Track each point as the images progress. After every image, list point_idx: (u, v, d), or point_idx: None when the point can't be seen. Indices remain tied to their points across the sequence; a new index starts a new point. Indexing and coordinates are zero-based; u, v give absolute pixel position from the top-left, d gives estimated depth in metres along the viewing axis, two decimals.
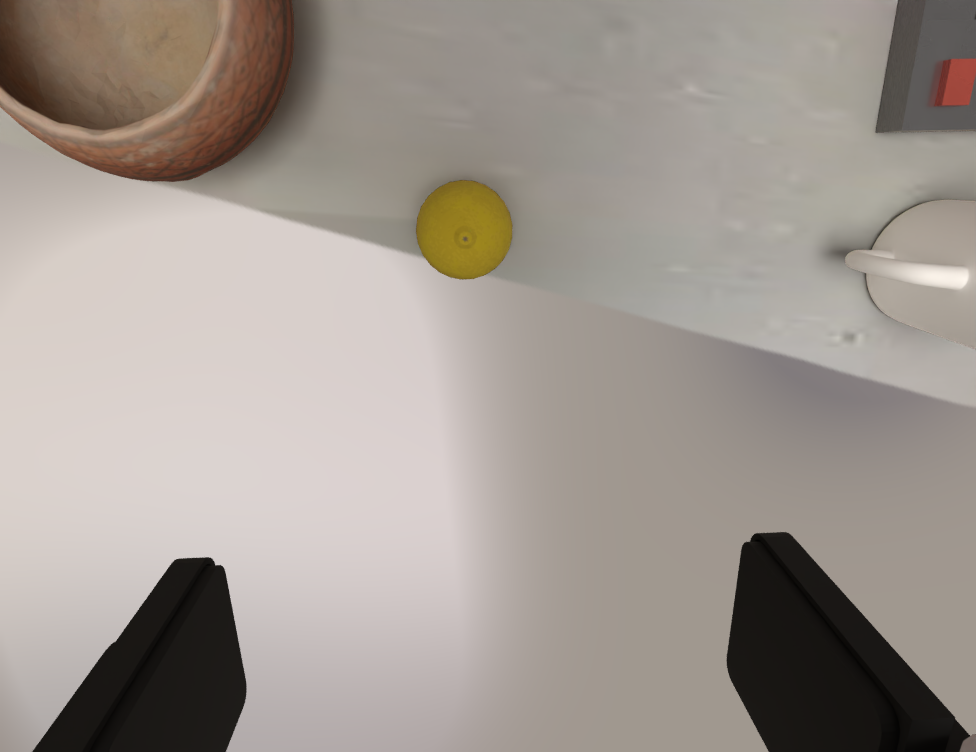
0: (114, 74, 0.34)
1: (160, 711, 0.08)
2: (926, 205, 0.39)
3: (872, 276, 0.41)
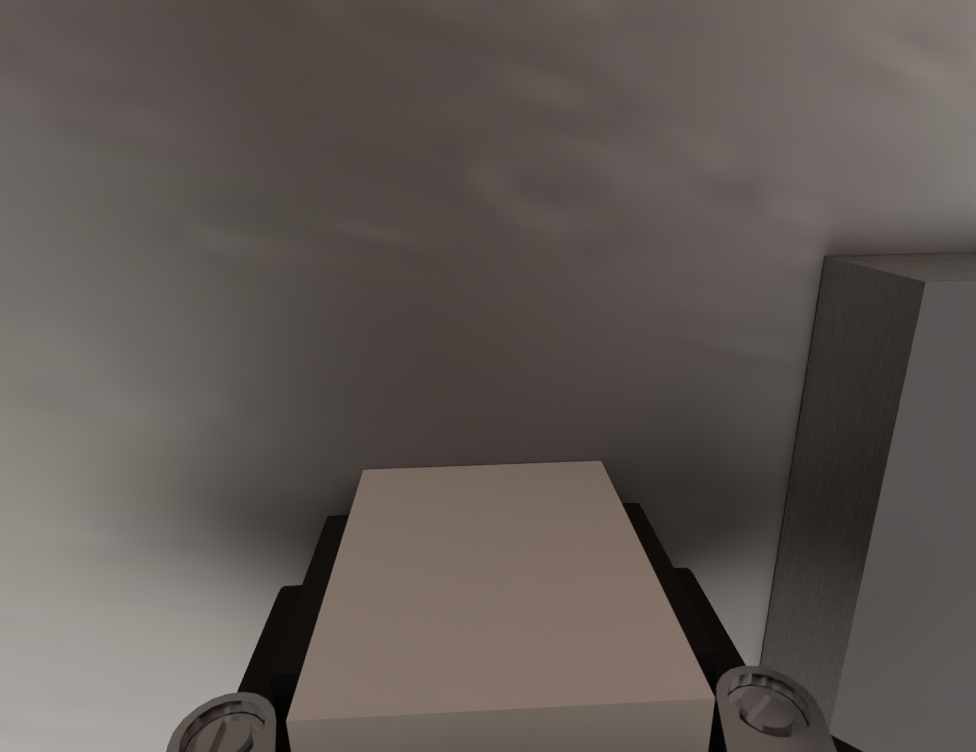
0: None
1: None
2: None
3: None
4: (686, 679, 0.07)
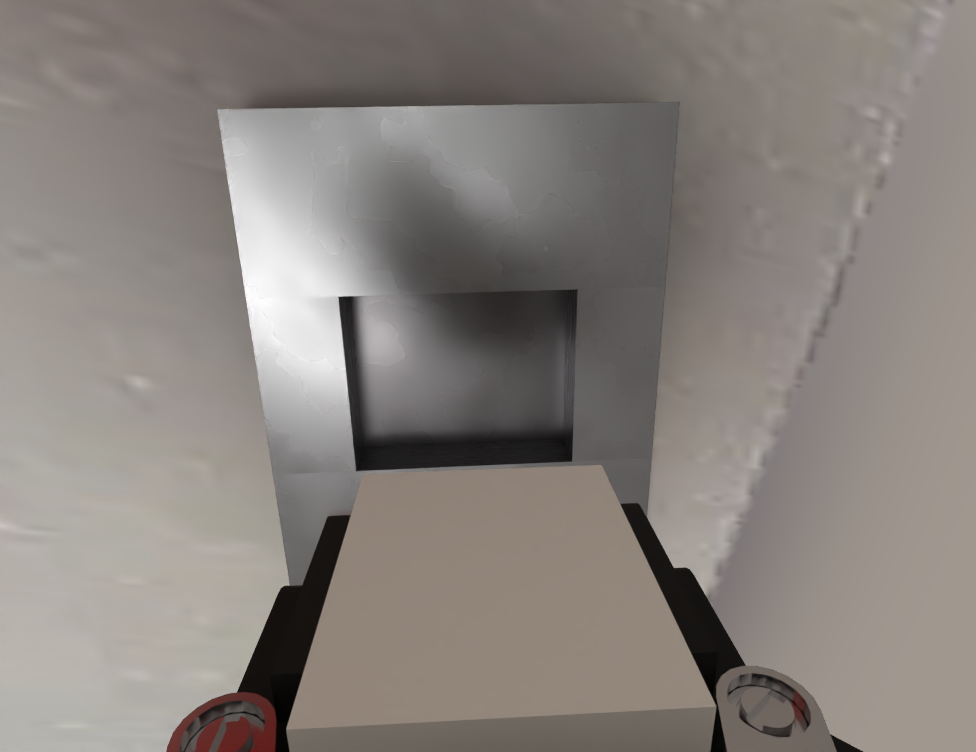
0: None
1: None
2: None
3: None
4: (687, 687, 0.07)
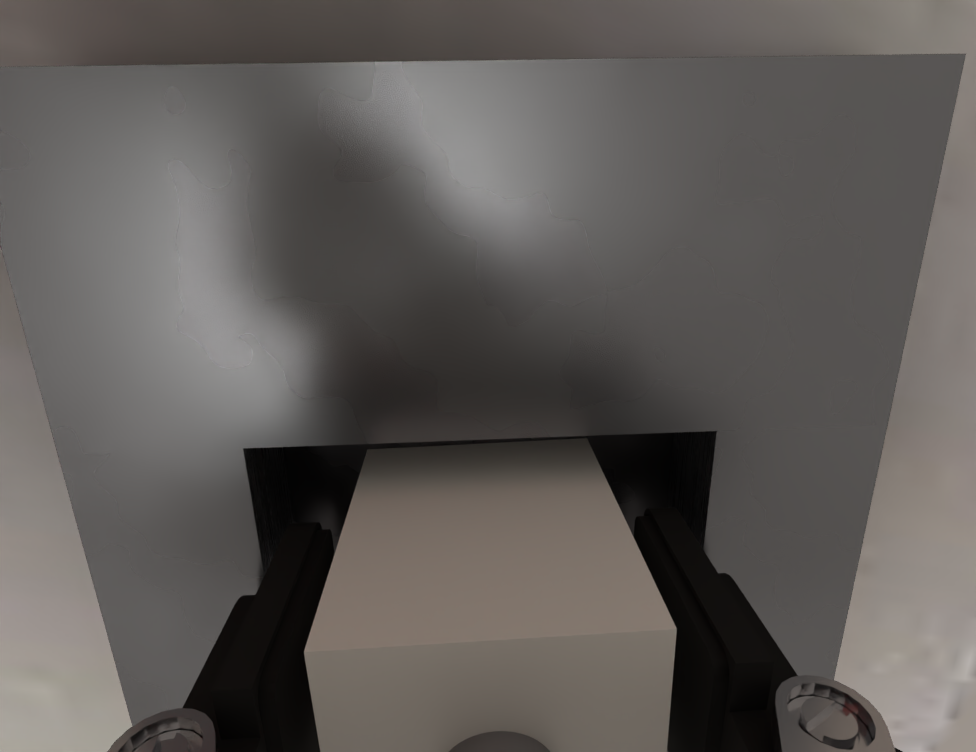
0: None
1: (301, 651, 0.09)
2: None
3: None
4: (653, 615, 0.08)
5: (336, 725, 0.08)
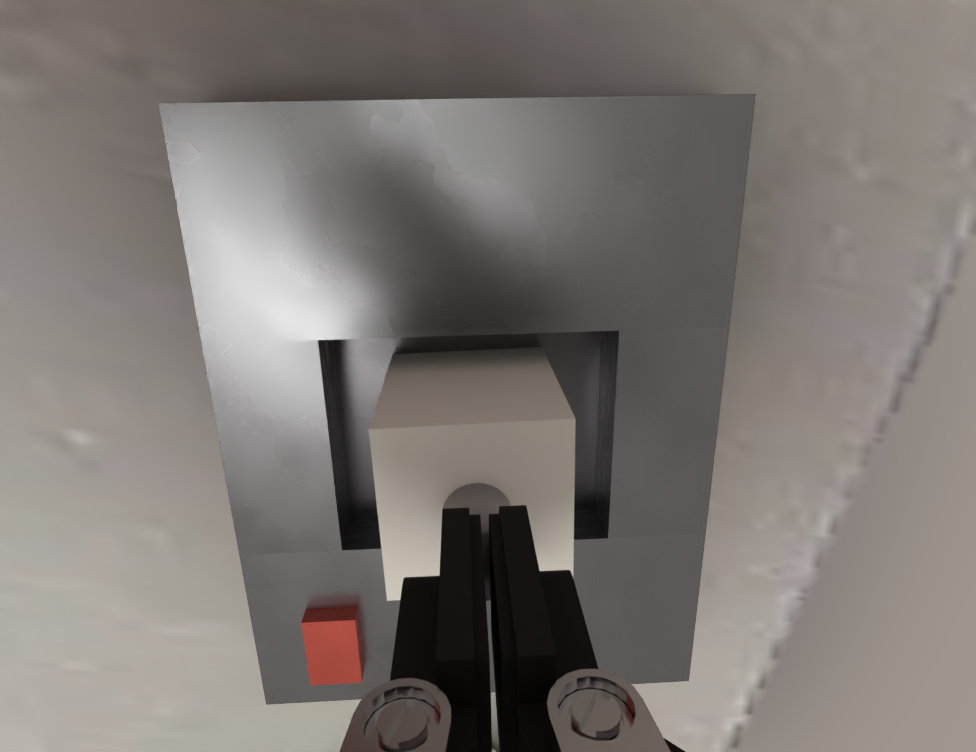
0: None
1: None
2: None
3: None
4: (564, 415, 0.14)
5: (385, 477, 0.14)
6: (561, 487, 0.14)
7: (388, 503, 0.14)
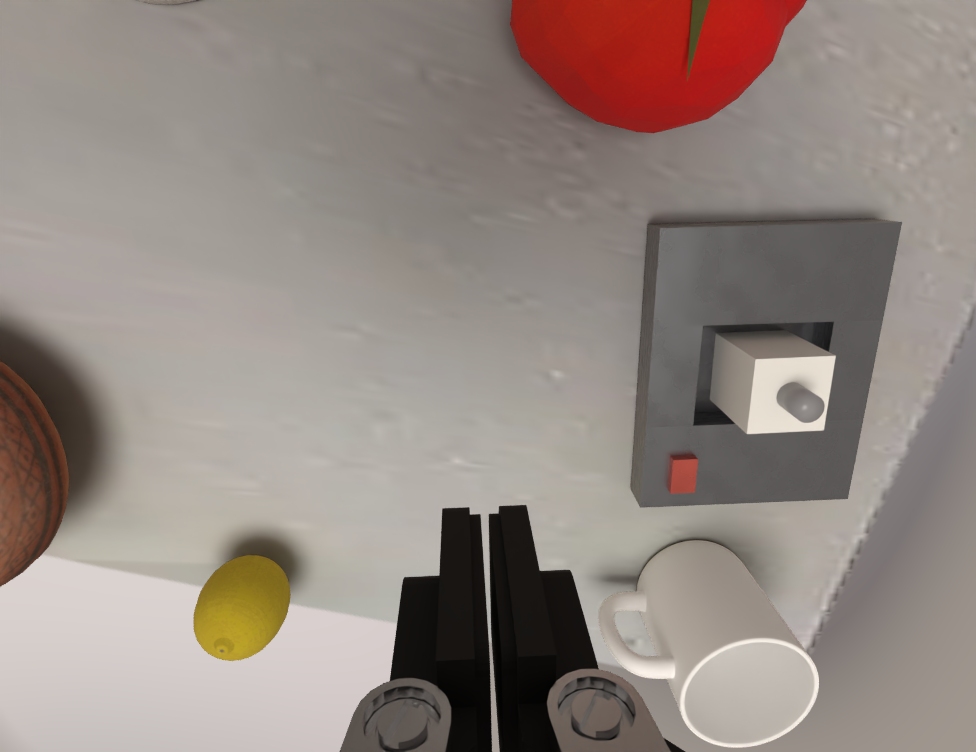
0: None
1: None
2: (678, 552, 0.43)
3: None
4: (829, 354, 0.34)
5: (757, 379, 0.34)
6: (826, 384, 0.34)
7: (756, 390, 0.34)
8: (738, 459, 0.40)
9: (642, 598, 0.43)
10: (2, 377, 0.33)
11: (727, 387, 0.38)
